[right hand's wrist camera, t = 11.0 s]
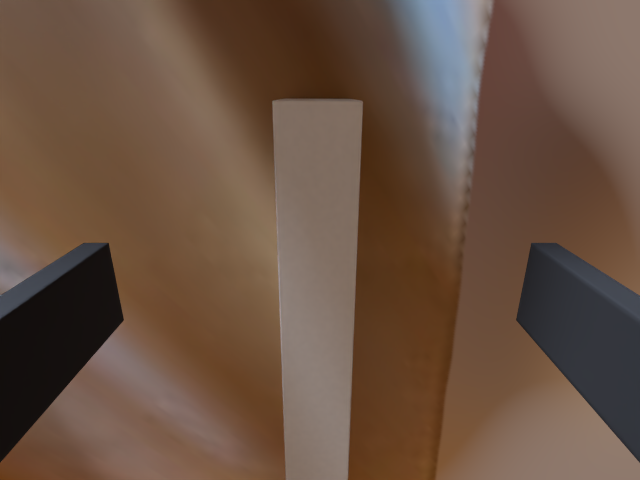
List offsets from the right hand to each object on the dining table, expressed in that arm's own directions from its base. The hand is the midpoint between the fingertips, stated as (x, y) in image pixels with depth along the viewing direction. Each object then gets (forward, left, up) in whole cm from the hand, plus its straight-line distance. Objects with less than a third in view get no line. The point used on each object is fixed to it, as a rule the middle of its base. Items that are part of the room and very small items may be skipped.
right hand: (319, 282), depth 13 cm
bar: (+16, +17, -20) cm, 30 cm away
